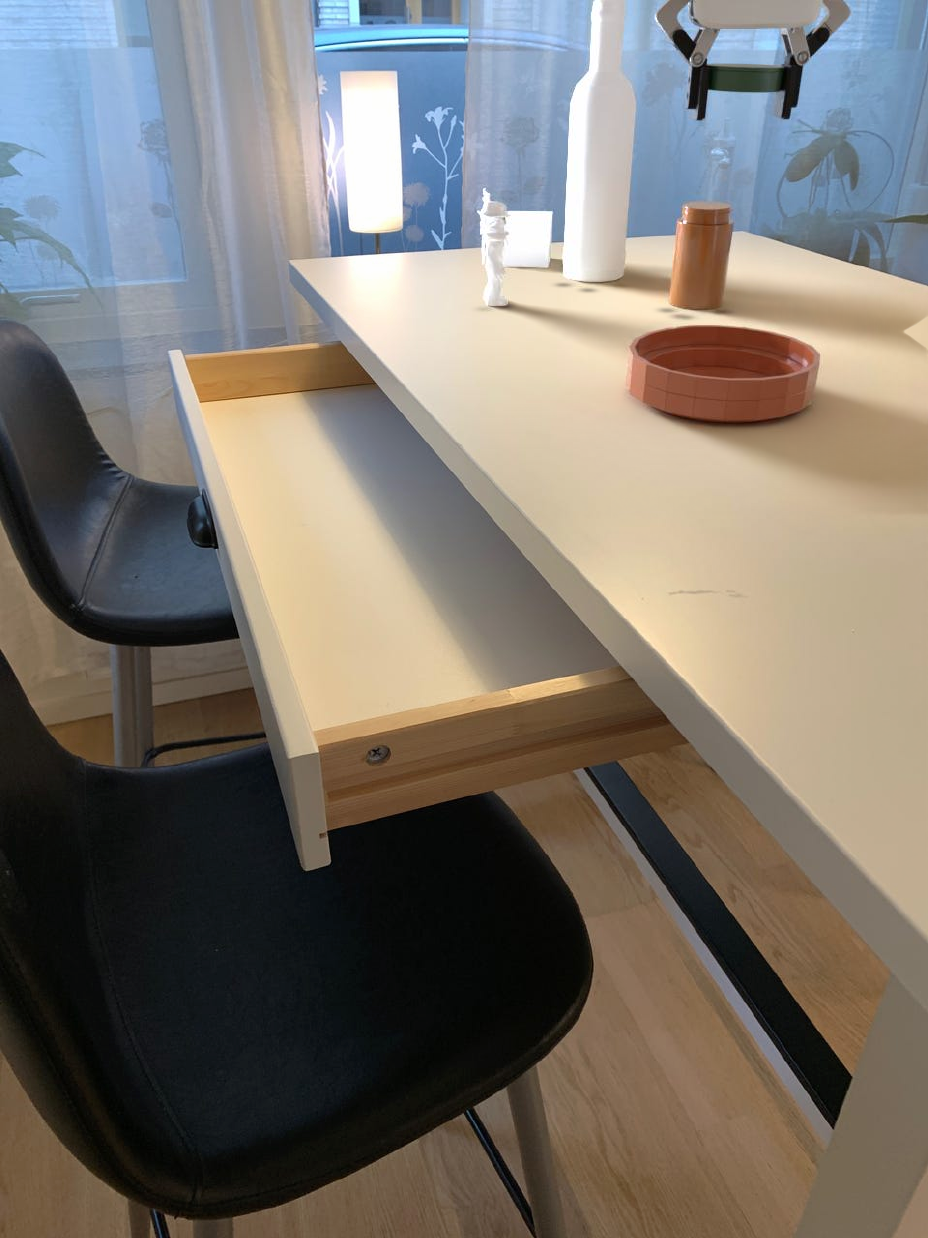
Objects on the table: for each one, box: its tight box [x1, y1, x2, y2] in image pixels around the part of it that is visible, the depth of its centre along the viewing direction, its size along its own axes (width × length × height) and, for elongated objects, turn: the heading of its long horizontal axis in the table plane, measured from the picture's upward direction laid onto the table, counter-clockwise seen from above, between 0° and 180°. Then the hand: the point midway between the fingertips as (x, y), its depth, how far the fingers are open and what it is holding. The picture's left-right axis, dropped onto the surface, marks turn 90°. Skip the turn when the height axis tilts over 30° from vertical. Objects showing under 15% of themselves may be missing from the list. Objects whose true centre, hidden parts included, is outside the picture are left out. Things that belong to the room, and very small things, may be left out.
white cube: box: [503, 210, 553, 269], centre depth 132 cm, size 6×6×6 cm
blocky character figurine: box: [477, 188, 512, 307], centre depth 112 cm, size 9×4×12 cm, turn 2°
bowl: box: [625, 324, 821, 424], centre depth 86 cm, size 16×16×4 cm
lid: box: [707, 63, 785, 94], centre depth 84 cm, size 7×6×2 cm
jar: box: [668, 200, 735, 311], centre depth 112 cm, size 6×6×11 cm
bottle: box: [562, 0, 637, 283], centre depth 118 cm, size 8×8×30 cm
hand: (739, 116), depth 85 cm, fingers closed on lid, 6 cm apart
